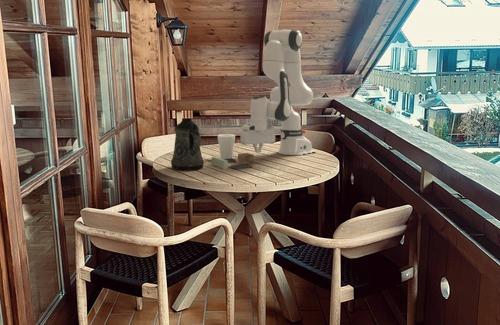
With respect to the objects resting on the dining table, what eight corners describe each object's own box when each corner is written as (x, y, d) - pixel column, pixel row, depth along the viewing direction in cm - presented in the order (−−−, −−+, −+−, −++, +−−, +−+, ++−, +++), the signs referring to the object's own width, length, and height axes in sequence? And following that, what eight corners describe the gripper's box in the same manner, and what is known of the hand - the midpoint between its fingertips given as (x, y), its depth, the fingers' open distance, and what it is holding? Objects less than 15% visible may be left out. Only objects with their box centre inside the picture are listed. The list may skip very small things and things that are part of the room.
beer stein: (183, 163, 267) (182, 116, 262) (214, 166, 258) (214, 118, 253) (164, 169, 253) (162, 119, 248) (196, 173, 244) (195, 122, 239)
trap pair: (232, 160, 275) (232, 158, 275) (251, 167, 257) (251, 165, 257) (215, 162, 270) (215, 160, 270) (234, 169, 252) (234, 167, 252)
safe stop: (215, 163, 266) (215, 156, 265) (227, 168, 254) (227, 160, 253) (212, 164, 265) (211, 156, 264) (224, 169, 253) (224, 161, 252)
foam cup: (232, 160, 275) (232, 136, 272) (216, 159, 277) (215, 136, 274) (236, 157, 284) (236, 134, 281) (220, 156, 286) (220, 133, 283)
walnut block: (247, 162, 271) (247, 152, 270) (253, 163, 266) (253, 154, 265) (238, 163, 268) (238, 153, 267) (243, 165, 263) (243, 155, 262)
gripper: (271, 124, 275) (270, 149, 277) (239, 126, 264) (238, 152, 267) (277, 125, 269) (277, 151, 272) (245, 127, 259) (244, 154, 261)
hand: (257, 151), depth 269 cm, fingers closed
